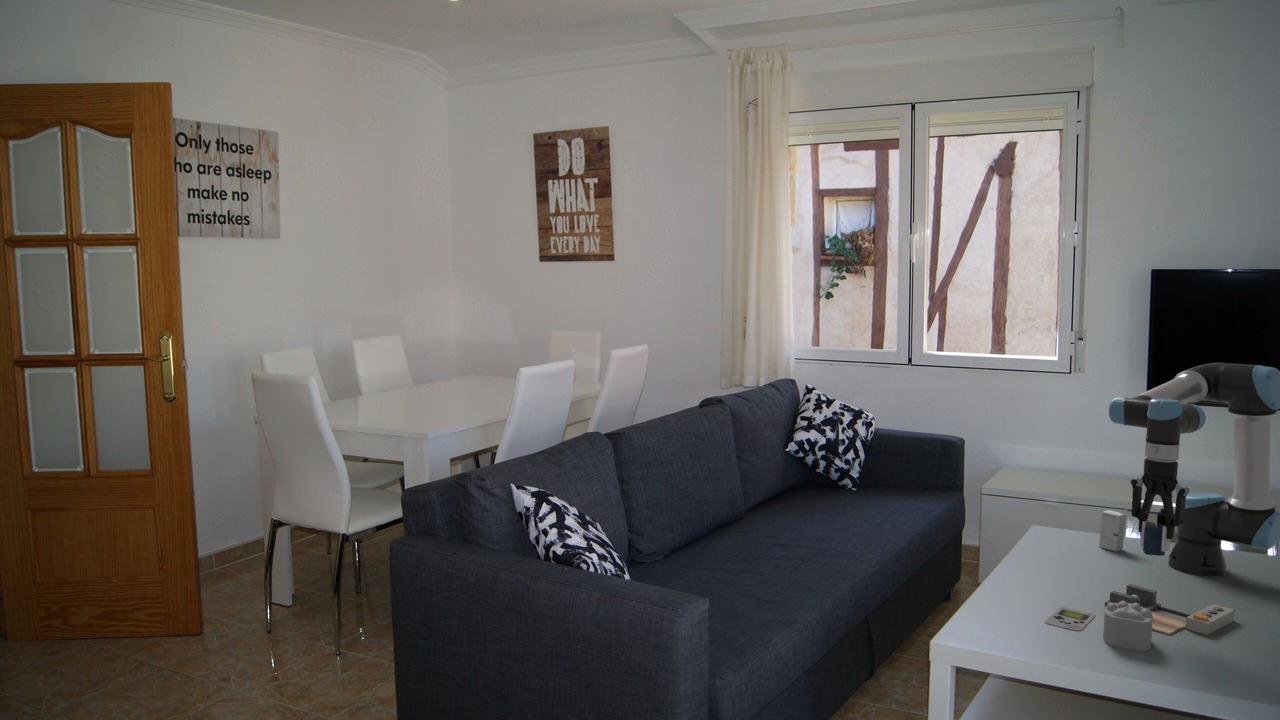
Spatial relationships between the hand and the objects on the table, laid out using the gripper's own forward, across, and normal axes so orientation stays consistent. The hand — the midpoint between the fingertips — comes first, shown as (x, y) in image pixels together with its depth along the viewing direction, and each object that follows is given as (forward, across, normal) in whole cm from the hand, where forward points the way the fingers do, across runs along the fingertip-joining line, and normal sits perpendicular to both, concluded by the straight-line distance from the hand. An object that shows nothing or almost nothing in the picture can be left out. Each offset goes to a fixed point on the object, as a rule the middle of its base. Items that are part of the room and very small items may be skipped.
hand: (1154, 547), depth 233 cm
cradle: (+19, -2, +7) cm, 20 cm away
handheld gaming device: (+20, -12, -17) cm, 29 cm away
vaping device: (+2, 0, 0) cm, 2 cm away
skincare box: (+19, -38, +53) cm, 68 cm away
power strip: (+19, +10, +10) cm, 24 cm away
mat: (+19, +2, 0) cm, 19 cm away
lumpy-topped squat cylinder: (+20, +3, -17) cm, 26 cm away
